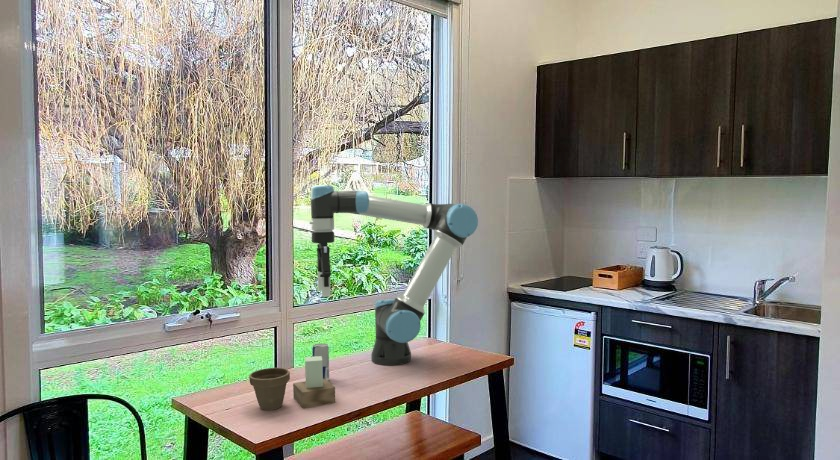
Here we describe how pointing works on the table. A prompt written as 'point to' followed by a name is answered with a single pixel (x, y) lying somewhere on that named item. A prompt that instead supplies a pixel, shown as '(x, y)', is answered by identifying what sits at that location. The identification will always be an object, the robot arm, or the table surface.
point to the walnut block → (313, 394)
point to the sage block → (314, 371)
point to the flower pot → (270, 386)
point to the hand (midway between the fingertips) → (324, 293)
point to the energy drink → (324, 352)
